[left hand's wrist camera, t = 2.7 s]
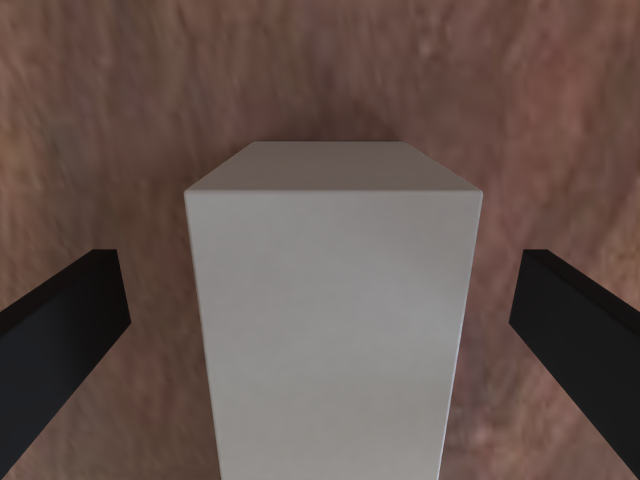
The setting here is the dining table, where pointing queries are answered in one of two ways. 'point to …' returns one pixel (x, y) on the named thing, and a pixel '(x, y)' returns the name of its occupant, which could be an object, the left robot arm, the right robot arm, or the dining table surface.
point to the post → (331, 307)
